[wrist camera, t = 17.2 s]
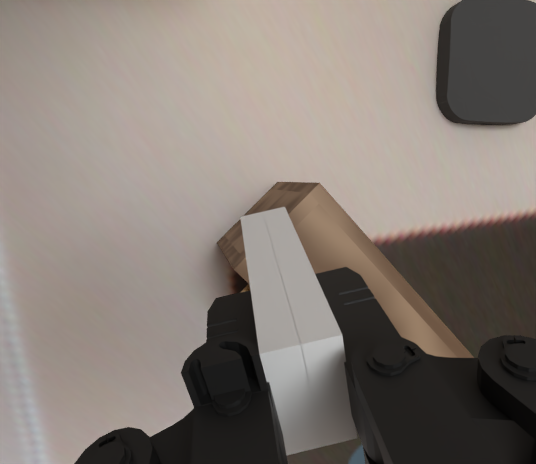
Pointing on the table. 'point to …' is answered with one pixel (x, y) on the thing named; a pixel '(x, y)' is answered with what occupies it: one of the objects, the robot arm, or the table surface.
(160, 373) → the table surface
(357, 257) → the console
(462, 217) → the table surface
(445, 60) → the media streaming box
